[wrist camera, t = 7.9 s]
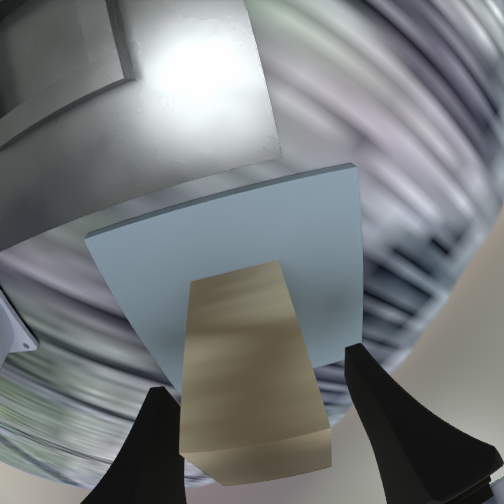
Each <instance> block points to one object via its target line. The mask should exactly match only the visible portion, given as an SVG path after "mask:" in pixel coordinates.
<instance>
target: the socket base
mask: <svg viewBox="0 0 504 504" xmlns="http://www.w3.org/2000/svg"><path fill="white" fill-rule="evenodd" d="M281 157H282V154H281V149H280V145H279V140H278V135H277V130H276V126H275V121H274V117H273V112H272V108H271V103H270V99H269V95H268V91H267V86H266V82H265V78H264V74H263V70H262V66H261V62H260V58H259V54H258V50H257V46H256V42H255V38H254V34H253V31H252V27H251V23H250V20H249V16H248V12H247V9H246V5H245V2H244V0H0V252H1V251H3V250H5V249H7V248H9V247H11V246H14V245H16V244H18V243H20V242H22V241H25V240H27V239H29V238H31V237H34V236H36V235H38V234H41V233H43V232H45V231H48V230H50V229H53V228H55V227H57V226H60V225H62V224H65V223H67V222H70V221H72V220H75V219H78V218H80V217H83V216H85V215H88V214H91V213H93V212H96V211H99V210H102V209H104V208H107V207H110V206H113V205H116V204H118V203H121V202H124V201H127V200H130V199H133V198H136V197H139V196H142V195H145V194H148V193H151V192H154V191H158V190H161V189H164V188H167V187H171V186H174V185H177V184H180V183H184V182H187V181H191V180H194V179H198V178H201V177H205V176H208V175H212V174H216V173H220V172H223V171H227V170H231V169H235V168H239V167H243V166H247V165H251V164H255V163H259V162H263V161H268V160H272V159H277V158H281Z"/></svg>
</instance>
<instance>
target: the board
mask: <svg viewBox="0 0 504 504" xmlns="http://www.w3.org/2000/svg"><path fill="white" fill-rule="evenodd" d="M84 242H85V244H86V246H87V248H88V250H89V252H90V254H91V256H92V258H93V260H94V261H95V263H96V265H97V267H98V269H99V271H100V273H101V275H102V276H103V278H104V280H105V282H106V284H107V285H108V287H109V289H110V291H111V292H112V294H113V296H114V298H115V299H116V301H117V303H118V304H119V306H120V308H121V309H122V311H123V313H124V314H125V316H126V317H127V319H128V321H129V322H130V324H131V325H132V327H133V329H134V330H135V332H136V333H137V335H138V336H139V338H140V339H141V341H142V342H143V344H144V345H145V347H146V348H147V350H148V351H149V353H150V354H151V356H152V357H153V358H154V360H155V361H156V363H157V364H158V366H159V367H160V368H161V370H162V371H163V373H164V374H165V375H166V377H167V378H168V379H169V381H170V382H171V383H172V385H173V386H174V387H175V389H176V390H177V391H178V393H179V394H180V395H181V392H182V375H183V360H184V347H185V335H186V323H187V313H188V302H189V293H190V283H191V281H195V280H199V279H203V278H207V277H211V276H215V275H219V274H223V273H227V272H231V271H235V270H239V269H243V268H247V267H251V266H255V265H259V264H263V263H267V262H271V261H275V260H278V261H279V264H280V267H281V270H282V273H283V276H284V279H285V283H286V286H287V289H288V292H289V295H290V298H291V301H292V304H293V307H294V310H295V314H296V317H297V320H298V323H299V326H300V329H301V332H302V336H303V339H304V342H305V345H306V348H307V352H308V355H309V358H310V361H311V364H312V368H317V367H320V366H324V365H327V364H331V363H334V362H338V361H341V360H344V359H345V347H348V346H351V345H354V344H357V343H362V320H363V244H362V221H361V205H360V191H359V180H358V169H357V166H355V165H354V164H352V163H350V164H344V165H339V166H334V167H329V168H324V169H319V170H315V171H310V172H305V173H301V174H296V175H292V176H287V177H283V178H278V179H274V180H270V181H266V182H262V183H257V184H253V185H249V186H245V187H241V188H237V189H233V190H230V191H226V192H222V193H218V194H214V195H211V196H207V197H203V198H200V199H196V200H193V201H189V202H186V203H182V204H179V205H175V206H172V207H168V208H165V209H162V210H158V211H155V212H152V213H149V214H145V215H142V216H139V217H136V218H133V219H130V220H126V221H123V222H120V223H117V224H114V225H111V226H108V227H105V228H102V229H99V230H96V231H94V232H91V233H88V234H87V236H86V237H85V238H84Z"/></svg>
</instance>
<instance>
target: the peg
mask: <svg viewBox="0 0 504 504" xmlns="http://www.w3.org/2000/svg"><path fill="white" fill-rule="evenodd" d="M179 454H180V455H182V456H183V457H184V458H185V459H187V460H188V461H189V462H191V463H192V464H193V465H195V466H196V467H197V468H199V469H200V470H201V471H203V472H204V473H206V474H207V475H208V476H210V477H211V478H213V479H214V480H216V481H217V482H219V483H220V484H222V485H223V486H231V485H240V484H248V483H256V482H262V481H269V480H274V479H280V478H285V477H290V476H295V475H300V474H304V473H309V472H313V471H317V470H321V469H325V468H328V467H331V466H332V465H331V428H330V424H329V421H328V417H327V414H326V411H325V407H324V404H323V401H322V397H321V394H320V391H319V387H318V384H317V381H316V377H315V374H314V371H313V368H312V364H311V361H310V358H309V355H308V352H307V348H306V345H305V342H304V339H303V336H302V332H301V329H300V326H299V323H298V320H297V317H296V314H295V310H294V307H293V304H292V301H291V298H290V295H289V292H288V289H287V286H286V283H285V279H284V276H283V273H282V270H281V267H280V264H279V261H278V260H275V261H271V262H267V263H263V264H259V265H255V266H251V267H247V268H243V269H239V270H235V271H231V272H227V273H223V274H219V275H215V276H211V277H207V278H203V279H199V280H195V281H191V283H190V293H189V302H188V313H187V323H186V335H185V347H184V360H183V375H182V392H181V412H180V440H179Z"/></svg>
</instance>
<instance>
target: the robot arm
mask: <svg viewBox="0 0 504 504" xmlns="http://www.w3.org/2000/svg"><path fill="white" fill-rule="evenodd" d="M37 347H38V342H37V341H36V339H35V338H34V337H33V335H32V334H31V333H30V332H29V330H28V329H27V328H26V326H25V325H24V324H23V322H22V321H21V319H20V318H19V317H18V315H17V314H16V312H15V311H14V309H13V308H12V306H11V305H10V304H9V302H8V301H7V299H6V297H5V296H4V294H3V293H2V291H1V290H0V368H1V366H2V364H3V362H4V360H5V358H6V356H7V354H8V353H14V352H23V351H33V350H36V349H37ZM345 379H346V383H347V386H348V389H349V392H350V395H351V399H352V401H353V403H354V405H355V408H356V410H357V412H358V415H359V417H360V419H361V421H362V423H363V426H364V428H365V430H366V433H367V435H368V437H369V440H370V442H371V445H372V448H373V451H374V454H375V457H376V461H377V464H378V468H379V471H380V476H381V479H382V483H383V488H384V492H385V496H386V501H387V504H504V476H503V477H502V478H500V479H498V480H496V481H494V482H493V483H491V484H489V482H491V478H490V475H491V474H492V473H494V472H495V471H497V470H498V469H499V468H500V467H502V466H503V464H504V462H503V460H502V458H501V456H500V454H499V452H498V451H497V449H496V448H495V447H494V446H492V445H490V444H487V443H485V442H482V441H480V440H478V439H476V438H473V437H471V436H470V435H468V434H466V433H464V432H462V431H460V430H459V429H457V428H455V427H453V426H451V425H450V424H449V423H447V422H445V421H443V420H442V419H441V418H439V417H438V416H436V415H435V414H433V413H432V412H431V411H429V410H428V409H427V408H425V407H424V406H423V405H421V404H420V403H419V402H418V401H417V400H415V399H414V398H413V397H412V396H411V395H409V393H407V392H406V391H405V390H404V389H403V388H402V387H401V386H400V385H399V384H398V383H397V382H396V381H395V380H394V379H393V378H392V377H391V376H390V375H389V374H388V373H387V372H386V371H385V370H384V369H383V368H382V367H381V366H380V365H379V364H378V362H377V361H376V360H375V359H374V358H373V357H372V356H371V354H370V353H369V352H368V351H367V350H366V348H365V347H364V346H363V344H361V343H357V344H354V345H351V346H348V347H345ZM180 412H181V407H180V405H179V404H178V403H177V402H176V401H175V399H174V398H173V397H172V396H171V395H170V393H169V392H168V391H167V390H166V388H165V387H164V386H161V387H152V388H150V389H149V392H148V394H147V396H146V398H145V400H144V403H143V405H142V407H141V409H140V411H139V414H138V416H137V418H136V420H135V422H134V424H133V426H132V428H131V430H130V433H129V435H128V437H127V439H126V440H125V442H124V444H123V446H122V448H121V450H120V452H119V453H118V455H117V457H116V458H115V460H114V462H113V463H112V465H111V466H110V468H109V469H108V471H107V472H106V474H105V475H104V476H103V478H102V479H101V480H100V482H99V483H98V484H97V486H96V487H95V488H94V489H93V490H92V492H91V493H90V494H89V495H88V496H87V497H86V498H85V499H84V500H83V501H82V502H81V503H80V504H187V503H186V496H185V487H184V459H185V458H184V457H183V456H182V455H180V454H179V440H180Z"/></svg>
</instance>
